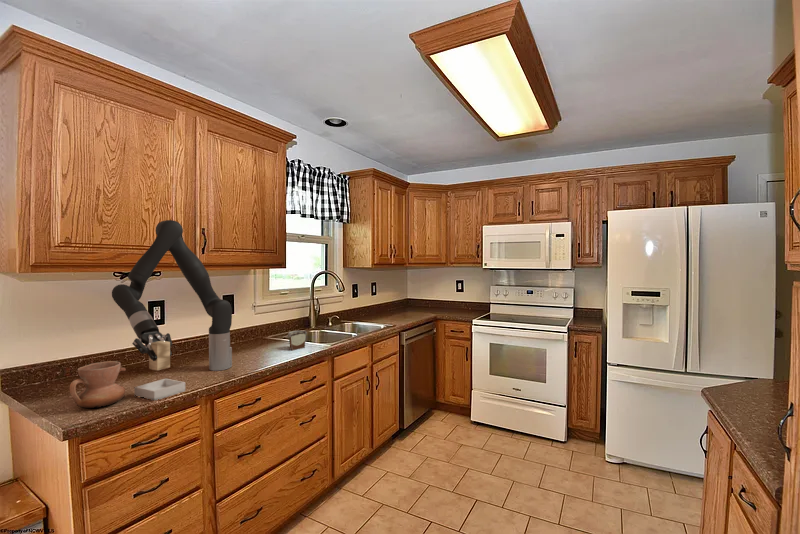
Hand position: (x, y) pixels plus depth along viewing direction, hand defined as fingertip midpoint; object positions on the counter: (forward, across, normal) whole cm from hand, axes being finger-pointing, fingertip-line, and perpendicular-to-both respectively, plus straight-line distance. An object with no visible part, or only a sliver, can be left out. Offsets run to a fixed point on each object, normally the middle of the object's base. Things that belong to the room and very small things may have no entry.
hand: (162, 357), depth 151 cm
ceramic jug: (+3, -17, +18) cm, 25 cm away
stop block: (+2, 0, +4) cm, 5 cm away
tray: (+9, 0, +11) cm, 14 cm away
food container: (+5, +84, +15) cm, 86 cm away
